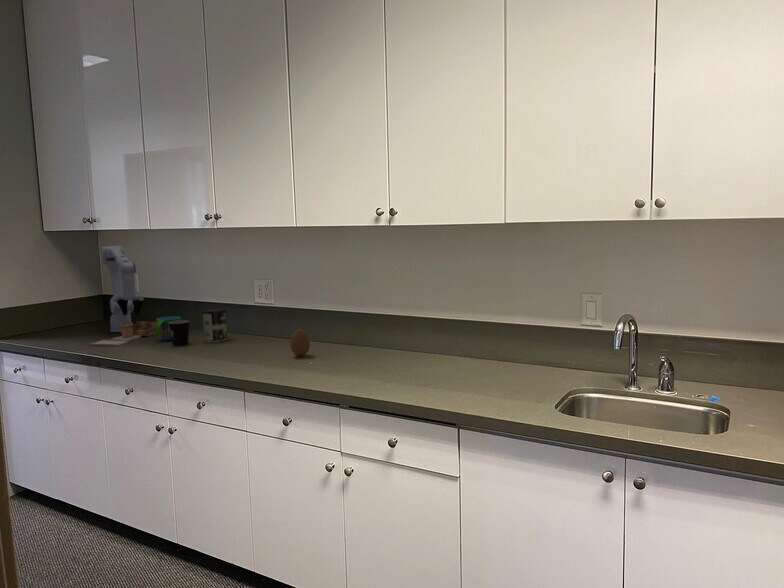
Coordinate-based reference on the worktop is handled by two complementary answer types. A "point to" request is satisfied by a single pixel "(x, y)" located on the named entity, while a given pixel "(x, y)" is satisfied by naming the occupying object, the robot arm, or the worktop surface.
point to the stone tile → (126, 338)
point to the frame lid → (109, 343)
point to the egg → (300, 342)
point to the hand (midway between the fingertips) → (131, 315)
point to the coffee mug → (179, 332)
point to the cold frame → (144, 328)
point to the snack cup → (165, 326)
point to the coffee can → (214, 325)
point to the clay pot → (127, 330)
